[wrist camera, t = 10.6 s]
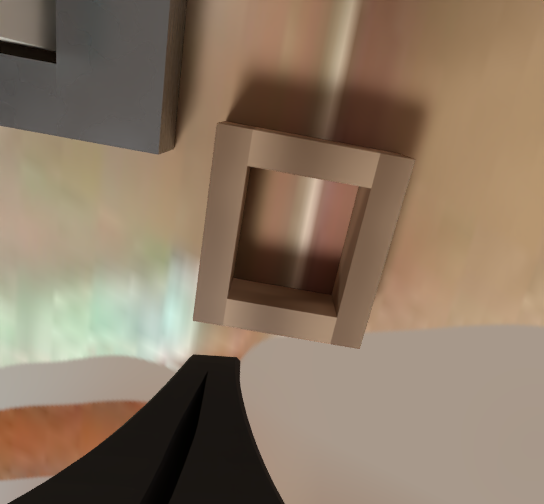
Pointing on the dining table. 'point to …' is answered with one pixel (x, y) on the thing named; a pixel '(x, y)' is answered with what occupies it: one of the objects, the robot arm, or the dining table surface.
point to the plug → (29, 23)
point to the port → (102, 75)
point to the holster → (356, 252)
